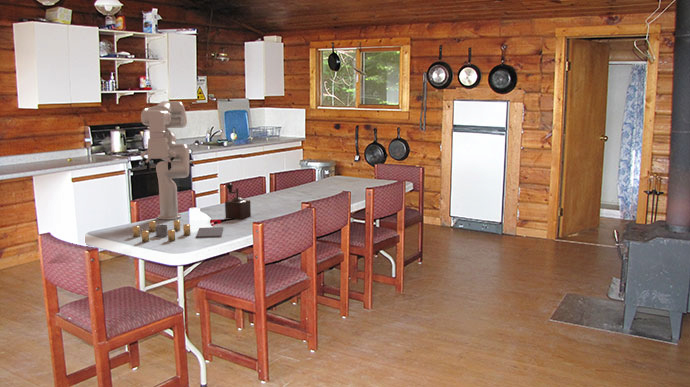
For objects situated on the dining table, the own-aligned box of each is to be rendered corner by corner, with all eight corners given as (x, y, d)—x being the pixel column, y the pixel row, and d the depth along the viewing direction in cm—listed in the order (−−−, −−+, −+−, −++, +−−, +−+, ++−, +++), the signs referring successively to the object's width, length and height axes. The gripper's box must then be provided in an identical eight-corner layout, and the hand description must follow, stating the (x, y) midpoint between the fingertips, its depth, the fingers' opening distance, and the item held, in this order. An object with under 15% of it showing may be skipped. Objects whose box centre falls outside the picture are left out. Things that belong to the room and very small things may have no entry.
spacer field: (137, 230, 313) (137, 221, 312) (192, 229, 316) (192, 219, 315) (128, 242, 289) (127, 232, 288) (187, 240, 293) (187, 230, 292)
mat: (199, 229, 316) (199, 227, 316) (223, 228, 317) (223, 227, 317) (196, 237, 298) (196, 236, 298) (221, 237, 300) (221, 235, 300)
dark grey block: (157, 234, 305) (157, 224, 304) (168, 234, 306) (167, 224, 305) (155, 237, 300) (155, 227, 299) (166, 237, 300) (165, 227, 299)
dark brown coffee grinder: (252, 216, 347) (251, 184, 344) (240, 220, 337) (239, 187, 334) (230, 213, 354) (229, 182, 351) (217, 217, 344) (216, 185, 341)
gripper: (176, 135, 310) (178, 169, 312) (140, 135, 308) (142, 170, 310) (174, 135, 303) (176, 170, 305) (138, 136, 300) (139, 171, 303)
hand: (159, 170), depth 308 cm, fingers open, 9 cm apart
